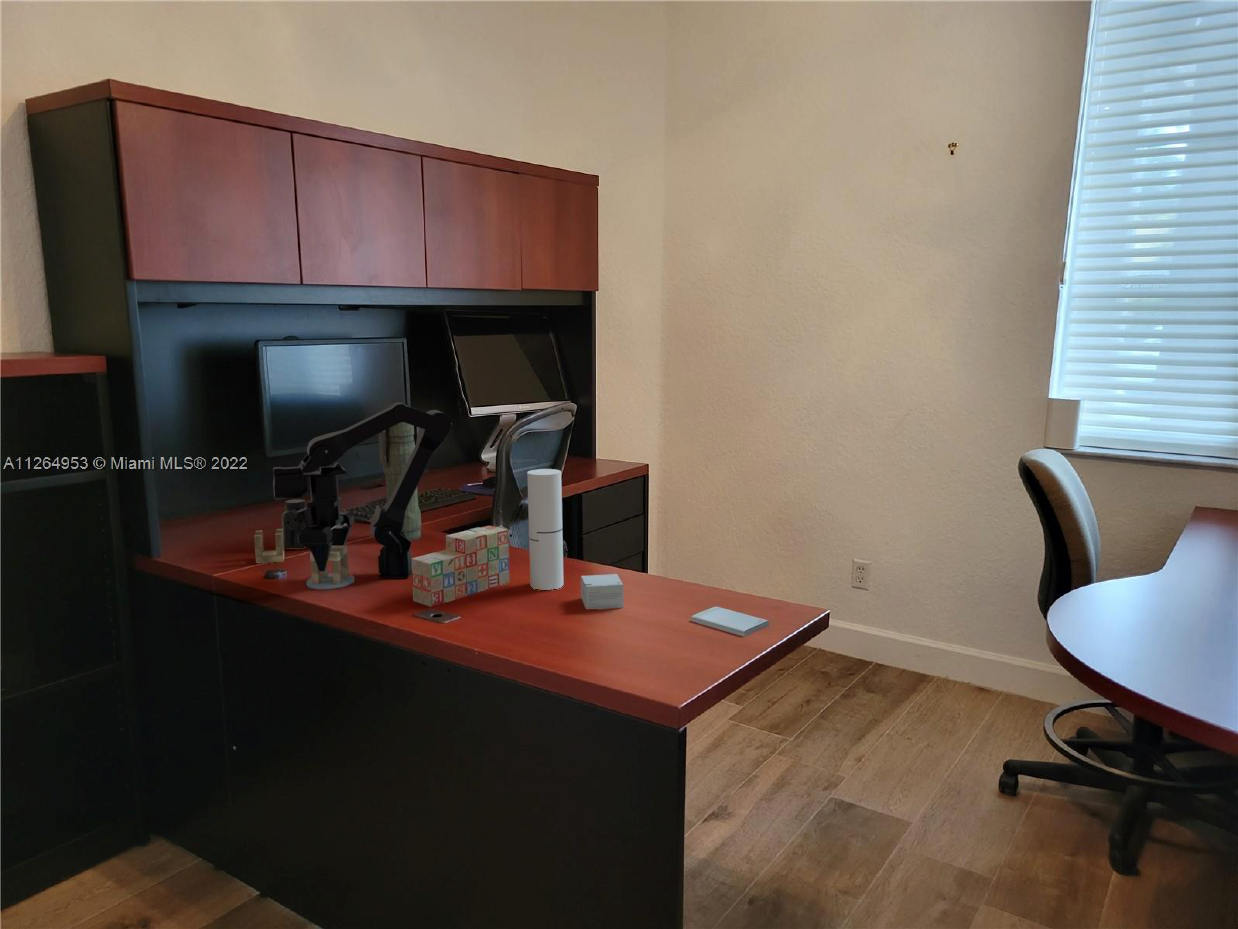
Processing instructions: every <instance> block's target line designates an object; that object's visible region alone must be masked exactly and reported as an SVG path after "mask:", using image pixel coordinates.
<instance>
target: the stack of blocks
mask: <svg viewBox="0 0 1238 929" xmlns="http://www.w3.org/2000/svg"><path fill="white" fill-rule="evenodd" d="M411 561H412V573H411V585H412V601H413V602H415V603H419V604H421V605H425V606H427V607H430V608H432V607H436V606H438V605H441V604H445V602H446V603H449V602H452V601H453V602H454V601H455V600H459V599H463V598H465V597H464V596H466V597H469V596H471V595H470V594H472V595H474V594H473V593H475V594H477V593H476V592H478V593H481V592H484V591H486V590H485V589H488V590H491V589H494V588H496V587H495V586H498V585H501V586H504V585H506V584H505V583H507V582H509V583H510V582H511V581H510V544H509V530H508V528H504V527H503V528H502V527H499V526H498V527H497V526H493V525H486V526H481V527H479V526H477V527H474V528H470V529H468V530H464V531H459V532H455V533H451V534H446V535H445V549H443V550H440V551H436V552H432V553H428V554H424V555H419V556H416V557H411ZM503 584H504V585H503ZM507 584H508V583H507ZM493 587H494V588H493ZM498 587H499V586H498ZM490 588H491V589H490ZM483 590H484V591H483ZM480 591H481V592H480ZM468 595H469V596H468ZM462 597H463V598H462Z"/></svg>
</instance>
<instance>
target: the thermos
mask: <svg viewBox="0 0 1238 929" xmlns="http://www.w3.org/2000/svg"><path fill="white" fill-rule="evenodd" d="M392 405H393V404H388V406H385V408H384V410H385V409H387V408H389V407H391V406H392ZM418 430H419V427H416V426H413V425H410V424H407V423H404V422H400V423H398V424H396V425H394V426H392V427H390V428H388V429H386V430H384V431H382V432H380V433H378V434H377V440H378V454H379V456H378V457H379V464H380V465H382V469H383V471H382V472H383V474H384V475H385V488H386V489H385V490H386V503H387V502H388V501H389V500H390V497H391V495H392V493H393V491H394V489H395V487H396V485H397V483H398V481H399V479H400V477H401V475H402V473H403V471H404V468H405V466H406V464H407V462H408V460H409V458H410V456H411V454H412V452H413V450H414V448H415V445H416V441H417V435H418ZM418 493H419V492H418V487H417V488H416V490H415V492H414V494H413V496H412V498H411V500H410V502H409V504H408V506H407V508H406V512H405V519H404V524H403V528H402V532H403V533H404V534H405V535H406V536H407V538H408V539H409V540H410V542H412V541H415V540H418V539H420V538H422V533H421V532H422V530H421V528H422V514H421V509H420V507H419V497H418V495H419V494H418Z"/></svg>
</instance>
